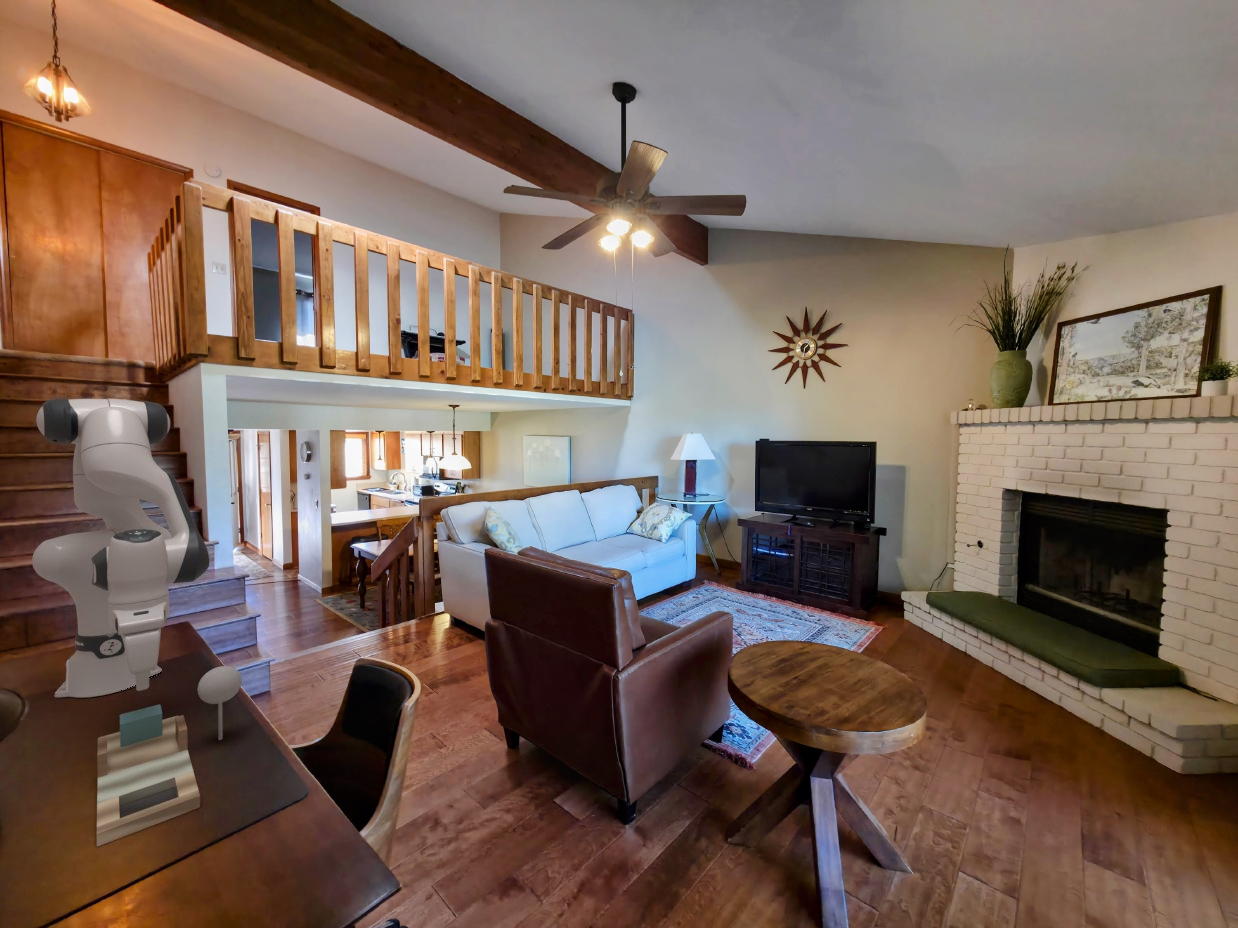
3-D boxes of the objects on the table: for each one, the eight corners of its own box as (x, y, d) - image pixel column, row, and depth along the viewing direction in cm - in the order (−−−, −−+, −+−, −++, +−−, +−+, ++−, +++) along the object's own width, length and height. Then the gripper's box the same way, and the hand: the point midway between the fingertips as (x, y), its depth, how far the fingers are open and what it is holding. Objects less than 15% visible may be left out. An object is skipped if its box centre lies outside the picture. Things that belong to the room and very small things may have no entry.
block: (119, 736, 100) (119, 714, 100) (160, 725, 105) (160, 703, 104) (120, 747, 97) (120, 724, 97) (162, 735, 101) (162, 713, 101)
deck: (98, 747, 100) (98, 717, 100) (178, 724, 108) (178, 697, 108) (96, 846, 75) (96, 807, 75) (199, 807, 84) (199, 771, 84)
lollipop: (250, 733, 106) (249, 663, 105) (213, 752, 99) (212, 677, 98) (226, 726, 108) (226, 658, 107) (189, 745, 101) (188, 671, 101)
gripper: (116, 604, 105) (118, 670, 105) (118, 628, 90) (120, 704, 91) (157, 598, 109) (158, 661, 110) (165, 620, 95) (167, 692, 95)
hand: (141, 680), depth 100 cm, fingers open, 8 cm apart
